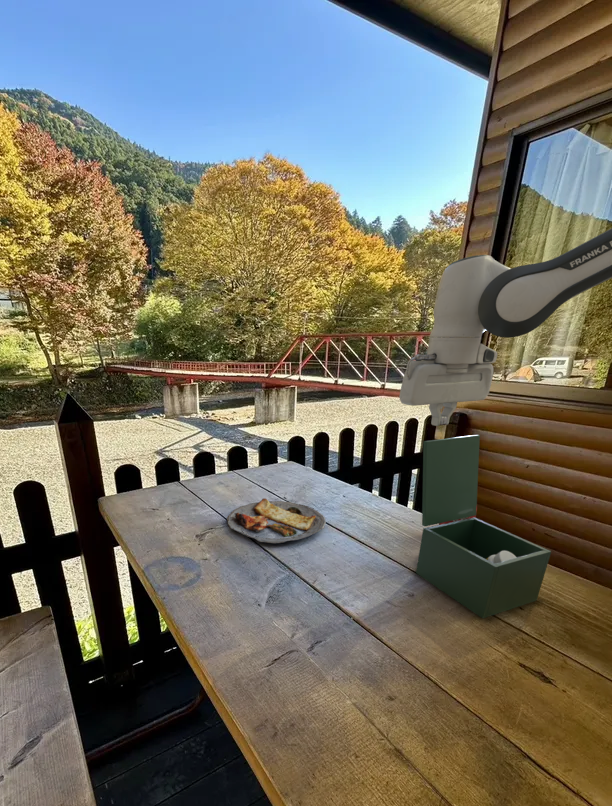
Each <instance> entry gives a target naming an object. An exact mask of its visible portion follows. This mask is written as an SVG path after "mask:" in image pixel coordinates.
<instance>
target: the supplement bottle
mask: <svg viewBox="0 0 612 806" xmlns="http://www.w3.org/2000/svg"><path fill="white" fill-rule="evenodd" d="M514 558H517V557H516V556H515V555H513V554H512V553H510V552H508V551H501V552H499V553H498V554H496V555H491V556H490V557H488V558H487V559H486V560H488V561H490V562H492V563H494V564H496V563H500V562H503V561H507V560H510V559H514Z"/></svg>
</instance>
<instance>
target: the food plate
mask: <svg viewBox="0 0 612 806" xmlns="http://www.w3.org/2000/svg"><path fill="white" fill-rule="evenodd" d="M269 521H273V522H275V523H273V524H269ZM226 524H227V527H228V528H230V529H232V530H233V531H236V532H238V533H239V534H241V535H243V536H246V537H247V538H252V539H255V540H256V541H257V542H260V543H268V544H281V543H286V542H290V541H299V540H301V539H305V538H308V537H310V536H312V535H315V534H317V533H318V532H320V531H322V530H323V529H325V525H326V524H327V520H326V517H325V516H324V514H323V513H321V512H320V511H318V509H316V508H314V507H311V506H308V505H305V504H300V503H295V502H291V501H285V500H284V501H283V500H274V501H273V500H268V499H267V498H262V499H261V500H260V501H259V502H258V501H257V502H252V503H248V504H245V505H241V506H238V507H236V508H235V509H233V510H232V511H231V512H230V513H229V514H228V515H227V517H226ZM265 529H271V530H272V531H274V532H276V533H278V534H279V535H281V536H282V537H281V538H271V537H259V536H258V535H254V534H252V536H251V535H249V534H250V532H248V531H251V532H256V533H260V532H262V531H264V530H265ZM245 530H246V531H245ZM247 530H248V531H247ZM243 531H244V532H243ZM299 531H301V533H299V534H298V532H299ZM302 531H303V532H302ZM297 534H298V535H297Z"/></svg>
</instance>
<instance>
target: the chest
mask: <svg viewBox="0 0 612 806" xmlns="http://www.w3.org/2000/svg"><path fill="white" fill-rule="evenodd" d="M420 540H421V541H420V544H419V545H420V546H419V552H418V559H417V564H416V569H415V574H416V575H417V576H419V577H420V578H422V579H424V580H425V581H426V582H428V583H430V584H431V585H433V587H435V588H437V589H438V590H440V591H442V592H443V593H444V594H446V595H448V596H449V597H451V599H453V600H454V601H456V602H457V603H459V604H460V605H462V606H463V607H465V608H466V609H468V610H470V611H471V612H472V613H474V614H475V615H477V616H478V617H480V618H481V619H486V618H490V617H493V616H495V615H499V614H502V613H504V612H506V611H509V610H512V609H516V608H519V607H522V606H524V605H527V604H530V603H534V602H537V601H538V598H539V595H540V591H541V588H542V585H543V581H544V577H545V576H546V575H545V574H546V571H547V568H548V565H549V562H550V558H551V554H552V550H550V549H547V548H545V547H543V546H540V545H538V544H535V543H534V542H531V541H529V540H527V539H524V538H522V537H520V536H518V535H516V534H513V533H511V532H509V531H507V530H504V529H502V528H499V527H497V526H495V525H493V524H490V523H489V522H486V521H484V520H482V519H480V518H477V517H473V518H468V519H464V520H459V521H455V522H450V523H445V524H441V525H439V524H435V525H431V526H426V527H423V529H422V535H421V539H420ZM501 551H508V552H510V553H512V554H513V555H515V556H516V557H517V558H514V559H510V560H507V561H503V562H500V563H496V564H494V563H492V562H490V561H488V560H486V559H487V558H488V557H490V556H491V555H496V554H498V553H499V552H501Z"/></svg>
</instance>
